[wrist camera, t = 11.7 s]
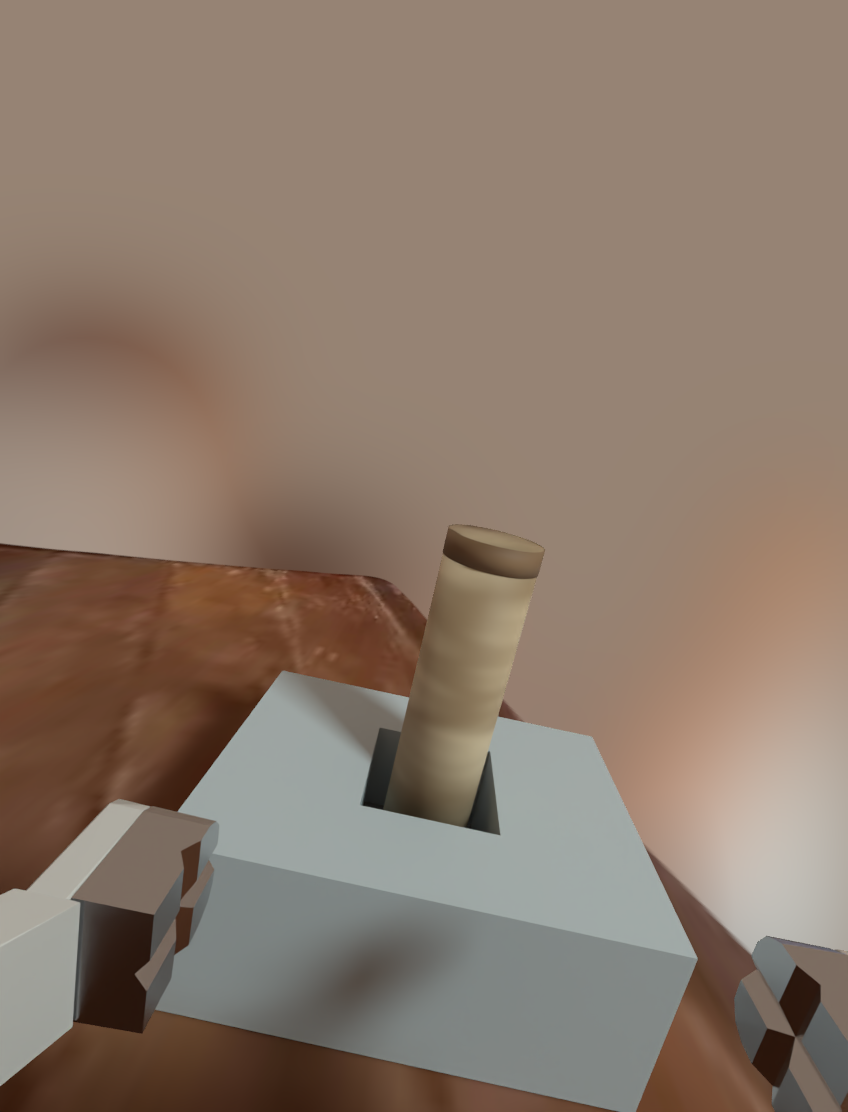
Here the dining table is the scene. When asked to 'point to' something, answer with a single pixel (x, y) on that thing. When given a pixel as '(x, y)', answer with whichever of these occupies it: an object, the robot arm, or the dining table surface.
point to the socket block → (432, 905)
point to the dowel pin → (462, 672)
